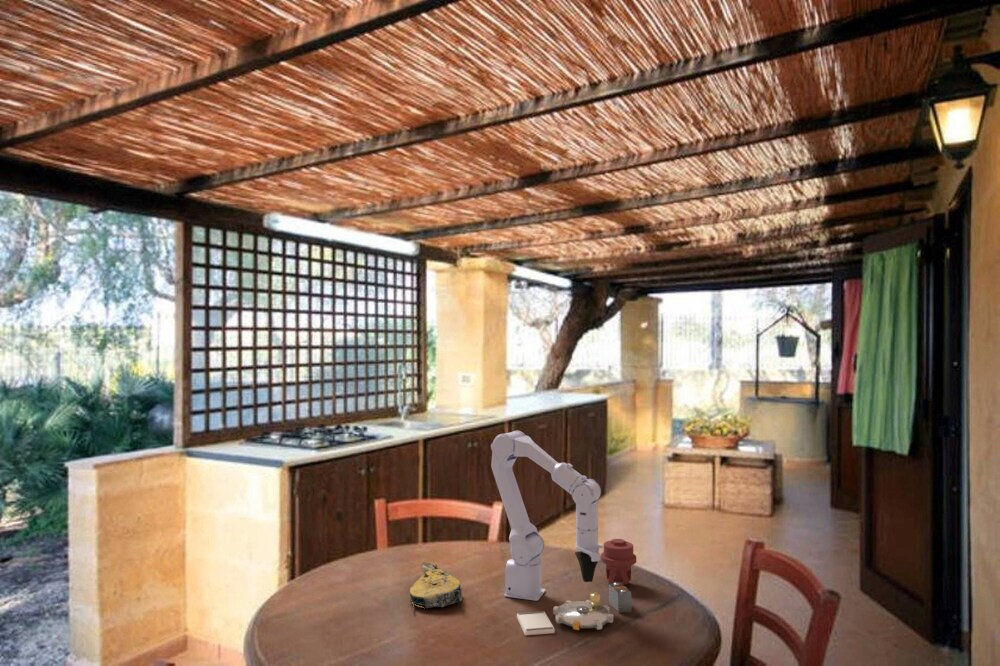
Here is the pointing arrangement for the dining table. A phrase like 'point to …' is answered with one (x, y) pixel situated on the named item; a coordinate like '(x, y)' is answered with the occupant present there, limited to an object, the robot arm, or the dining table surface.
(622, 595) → the striped block with rivets
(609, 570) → the mechanical component
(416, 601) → the tan irregular slab
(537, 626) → the guide plate
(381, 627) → the dining table surface
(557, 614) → the sprocket wheel
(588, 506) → the robot arm
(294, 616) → the dining table surface
